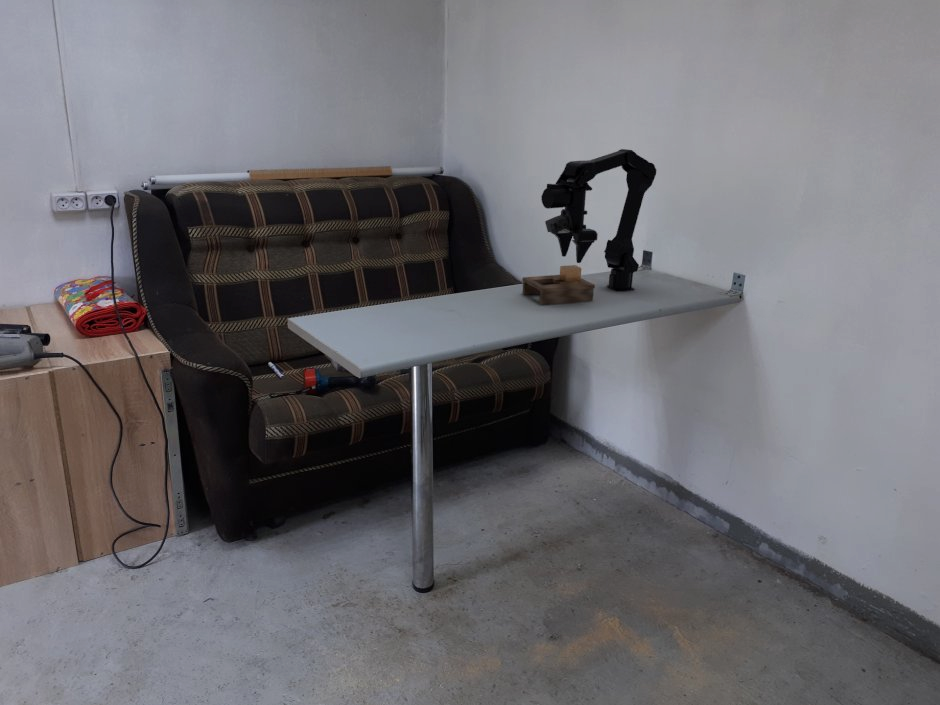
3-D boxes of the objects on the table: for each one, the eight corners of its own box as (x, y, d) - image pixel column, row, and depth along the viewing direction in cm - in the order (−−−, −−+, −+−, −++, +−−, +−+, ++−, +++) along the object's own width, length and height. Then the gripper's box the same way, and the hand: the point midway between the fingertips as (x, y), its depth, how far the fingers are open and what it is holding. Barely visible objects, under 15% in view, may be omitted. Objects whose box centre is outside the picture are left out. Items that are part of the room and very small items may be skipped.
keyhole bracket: (571, 289, 225) (572, 273, 223) (593, 301, 212) (594, 284, 211) (521, 293, 219) (522, 277, 217) (541, 305, 207) (542, 288, 205)
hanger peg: (572, 291, 220) (574, 264, 217) (580, 296, 215) (582, 268, 213) (557, 293, 218) (559, 265, 215) (565, 297, 214) (567, 269, 211)
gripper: (535, 202, 213) (533, 254, 219) (565, 212, 197) (561, 268, 202) (569, 201, 217) (565, 252, 222) (600, 211, 201) (596, 265, 206)
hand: (571, 259), depth 213 cm, fingers open, 9 cm apart
